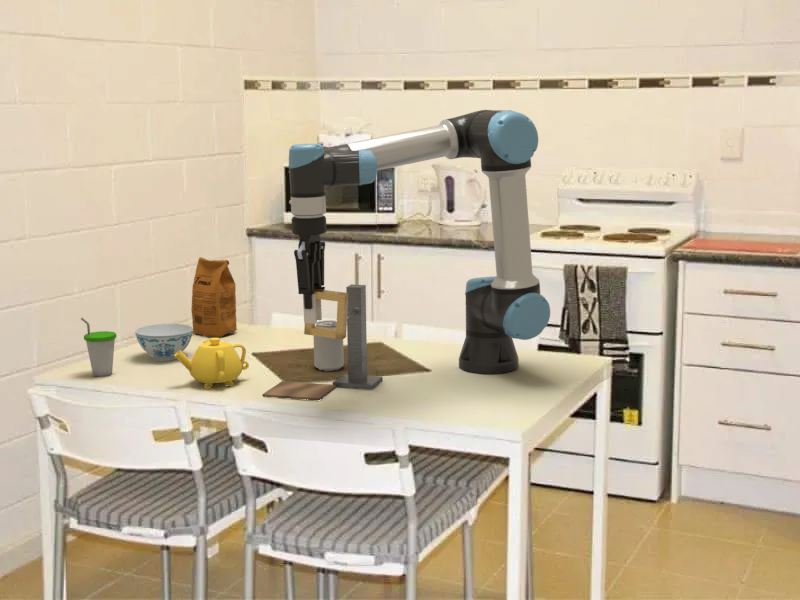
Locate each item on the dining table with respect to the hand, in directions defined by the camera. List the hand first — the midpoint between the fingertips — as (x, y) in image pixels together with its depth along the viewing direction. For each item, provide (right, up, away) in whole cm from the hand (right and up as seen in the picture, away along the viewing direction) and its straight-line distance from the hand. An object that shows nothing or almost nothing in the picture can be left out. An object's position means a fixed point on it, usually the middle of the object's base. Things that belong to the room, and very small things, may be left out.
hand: (313, 321), depth 256 cm
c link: (+3, -3, 0) cm, 4 cm away
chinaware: (-43, -11, +51) cm, 67 cm away
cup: (-55, -14, +34) cm, 66 cm away
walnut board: (-4, -17, +16) cm, 24 cm away
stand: (+7, -17, +17) cm, 25 cm away
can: (+1, -13, +38) cm, 40 cm away
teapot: (-26, -16, +26) cm, 40 cm away
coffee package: (-34, -5, +79) cm, 86 cm away
